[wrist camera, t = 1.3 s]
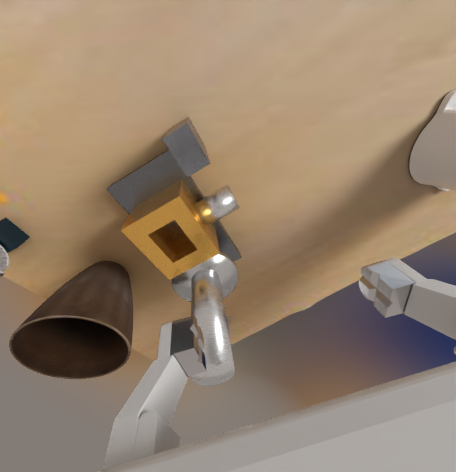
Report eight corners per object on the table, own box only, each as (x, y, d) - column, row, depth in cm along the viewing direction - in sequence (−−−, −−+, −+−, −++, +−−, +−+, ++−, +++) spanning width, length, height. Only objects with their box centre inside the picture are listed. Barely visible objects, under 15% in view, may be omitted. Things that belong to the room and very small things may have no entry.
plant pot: (163, 277, 46) (152, 348, 33) (115, 311, 49) (86, 389, 36) (103, 230, 39) (56, 298, 25) (50, 274, 42) (-17, 355, 29)
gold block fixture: (198, 130, 33) (209, 175, 13) (261, 244, 46) (317, 357, 25) (109, 186, 35) (-3, 299, 15) (192, 279, 48) (194, 409, 28)
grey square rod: (188, 116, 32) (187, 123, 22) (204, 145, 34) (210, 163, 24) (171, 127, 32) (162, 139, 22) (188, 155, 35) (187, 177, 24)
